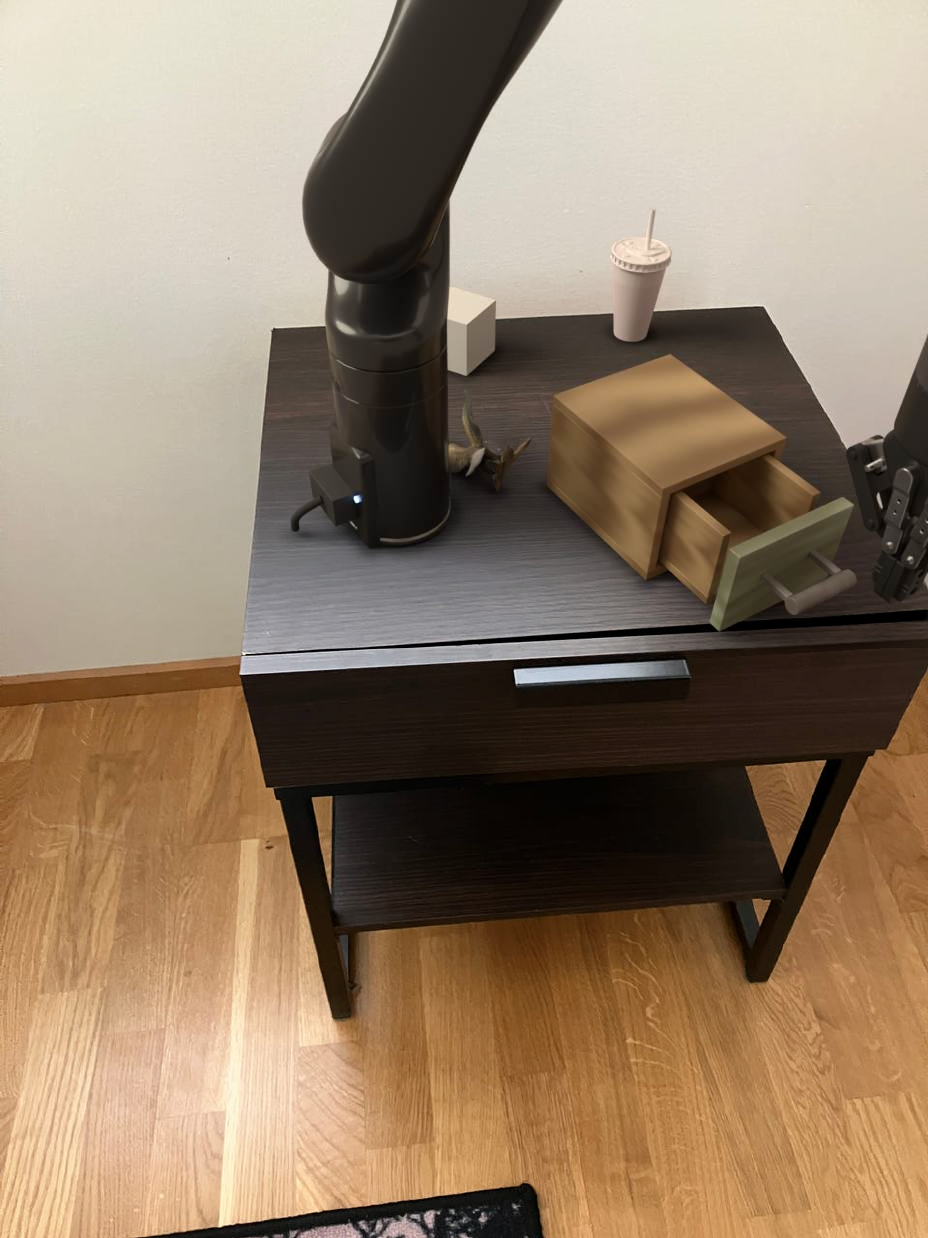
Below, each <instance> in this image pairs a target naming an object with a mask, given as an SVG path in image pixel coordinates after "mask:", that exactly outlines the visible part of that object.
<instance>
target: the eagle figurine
mask: <svg viewBox="0 0 928 1238" xmlns="http://www.w3.org/2000/svg"><path fill="white" fill-rule="evenodd" d="M462 394H463V397H462V400H463V407H462V416H461V417H462V418H461V420H462V425H463V428H464V431H465V433H466V435H467V437H468V439H469V442H470V445H469V446H468V447H465V446H462V445H460V444H457V443H456V442H452V443H449V466H450V474H451V473H454V474H456V473H458V472H460V471H461V470H462V469H465V468H466V467H469V469H468V471H467V472H466V475H465V477H468V476H469V475H471V474H473V472H474V471H475V469H476V468H477V469H478V470H480V472H482V473H484V474H486V475H487V476H489V477H491V478H492V480H493V485H494V488H495V491H496V492H499V491H500V488H501V483H502V482H503V479H504V477H505V475H506V474H507V472H508V471H509V469H510V467H511V466H512V465H513V464H514V462H515V461H516V460H517V459H518V458H519V457H520V456H521V455H522V453H523V452H524V451H525V450H526V449H527V448H528V447H529V445H530V443H531V441H532V439H533V437H531V436H529V437H528V438H527V439H526V440H525V441H524V442H523V443H521V444H520V446H519V447H518V448H516V450H515V449H514V448H513V446H512V445H511V444H510V442H508V443H507V444H506V447H505V449H504V451H503V455H500V454H497V453H495V452H493V451H491V450H490V448H489V447H488V446H487V445H486V444H485V443H484V437H483V433H482V430H481V428H480V427H479V424H478V423H477V422H476V421H475V420H474V418H473V414H474V413H473V410H472V407H473V406H472V397H471V395H470V393H469V392H468V390H467V389H464V391H463V393H462ZM487 462H489V463H493V464H494V466H495V470H496V471H494V470H493V468H492V467H491V466H489V465H488V463H487Z"/></svg>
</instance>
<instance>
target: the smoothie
mask: <svg viewBox="0 0 928 1238" xmlns="http://www.w3.org/2000/svg"><path fill="white" fill-rule="evenodd" d="M656 211H657V209H656V208H655V207H651V208H649V215H648V216H649V217H648V222H647V230H646V236H631V237H626V238H622V239H620V240H617V241H616V242H615V243H614V244H613V245H612V246H611V253H610V255H609V257H610V258H609V259H610V261H611V262H612V285H613V287H612V289H613V292H612V295H613V298H612V299H613V300H612V301H613V302H612V303H613V305H612V307H613V308H612V309H613V335H614V336H615V337H616V339H618V340H621V341H623V342H628V343H629V342H630V343H635V342H640V341H644V339H646V338H647V335H648V332H649V328H650V325H651V322H652V318H653V315H654V311H655V309H656V304H657V301H658V298H659V294H660V292H661V291H660V290H661V287H662V285H663V280H664V277H665V273H666V270H667V268H668V267H669V266H670V264H671V262H672V255H673V252H672V249H671V247H670V246H669V245H668V244H666V243H665V242H663V241H661V240H659V239H656V238H653V231H654V226H655V225H654V224H655V217H656Z"/></svg>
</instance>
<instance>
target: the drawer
mask: <svg viewBox="0 0 928 1238" xmlns="http://www.w3.org/2000/svg"><path fill="white" fill-rule="evenodd" d="M821 494H822V492H821V491H819V489H817V488H816V487H814V486H813V485H811V484H810V483H809V482H808V481H806V480H805V479H803V478H802V477H800V476H799V475H798V474H797V473H795V472H794V471H793V470H792V469H790V468H789V467H787V466H786V465H785V464H783V463H782V462H781V461H780V462H779V461H778V460H776V459H775V458H774V457H772V456H771V455H770V454H768V453H767V454H764V455H762V456H760V457H757V458H755V459H752V460H750V461H748V462H745V463H743V464H741V465H738V466H736V467H733V468H731V469H729V470H726V471H724V472H721V473H719V474H717V475H714V476H712V477H710V478H707V479H705V480H702V481H700V482H698V483H695V484H693V485H690V486H688V487H686V488H683V489H681V490H678V491H676V492H674V493H671V494H670V499H669V504H668V509H667V514H666V519H665V524H664V529H663V534H662V539H661V544H660V549H659V554H658V559H657V560H659V561H660V562H661V563H662V564H663V565H664V566H665V567H666V568H667V569H668V571H669V572H670V573H671V574H672V575H674V576H675V578H677V579H678V580H679V581H680V582H681V583H682V584H683V585H684V586H685V587H686V588H687V589H689V590H690V591H691V593H693V594H694V595H695V596H696V597H697V598H698V599H700V601H702V602H703V603H704V605H707V604H710V603H712V602H714V604H713V608H712V611H711V615H710V618H709V623H710V625H711V626H713V628H715V629H716V630H717V631H718V632H721V631H723V630H726V629H727V628H729V627H731V626H733V625H736V624H737V623H738V624H739V622H741V621H743V620H746V619H748V618H750V617H751V616H754V615H756V614H758V613H760V612H761V611H764V610H766V609H769V608H770V607H772V606H774V605H776V604H778V603H780V602H782V601H784V607H785V609H786V611H787V612H788V613H789V614H790V615H792V616H797V615H799V614H801V613H803V612H806V611H808V610H809V609H811V608H813V607H815V606H817V605H819V604H821V603H823V602H826V601H827V600H830V599H831V598H834V597H835V596H837V595H839V594H841V593H843V592H845V591H847V590H849V589H851V588H853V587H855V586H856V585H857V582H858V578H857V576H856V574H855V573H854V572H853V571H852V570H851V569H843V570H842V569H840V568H839V567H838V566H837V565H835V564H834V563H833V562H834V559H835V557H836V554H837V552H838V549H839V546H840V543H841V541H842V539H843V536H844V533H845V530H846V528H847V525H848V523H849V521H850V517H851V514H852V512H853V509H854V507H855V504H854V503H853V502H851V501H849V500H848V499H846V497H844V496H841V497H839V498H837V499H835V500H832V501H830V502H828V503H826V504H824V505H822V506H819V507H817V504H818V503H819V499H820V496H821ZM828 575H829V577H828Z"/></svg>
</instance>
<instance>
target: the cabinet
mask: <svg viewBox="0 0 928 1238" xmlns="http://www.w3.org/2000/svg"><path fill="white" fill-rule="evenodd" d="M549 435H550V436H549V447H548V448H549V449H548V462H547V473H546V487H547V488H549V489H550V490H551V491H552V493H554V494H555V495H556V496H557V497H558V498H559V499H560V500H561V501H562V502H563V503H564V504H565V505H567V507H568V508H569V509H570V510H571V511H573V513H575V515H577V516H578V517H579V518H580V519H581V520H582V521H583V522H584V523H585V524H586V525H587V526H588V527H589V528H591V530H593V531H594V533H595V534H596V535H598V536H599V537H600V538H601V539H602V540H603V541H604V542H605V543H606V544H607V545H608V546H609V547H610V548H611V549H612V550H613V551H615V553H617V555H619V556H620V557H621V558H622V559H623V560H624V561H625V562H626V563H627V564H628V565H629V566H630V567H631V568H632V569H633V570H634V571H635V572H637V574H639V575H640V577H642V579H644V580H645V581H648V580H651V579H652V578H654V577H657V576H659V575H661V574H664V573H666V572H667V571H669V570H668V569H667V568H666V567H665V566H664V565H663V564H662V563H661V562H660V561H659V560H657V559H658V554H659V549H660V544H661V539H662V534H663V529H664V524H665V519H666V514H667V509H668V504H669V499H670V494H671V493H674V492H676V491H678V490H681V489H683V488H686V487H688V486H690V485H693V484H695V483H698V482H700V481H702V480H705V479H707V478H710V477H712V476H714V475H717V474H719V473H721V472H724V471H726V470H729V469H731V468H733V467H736V466H738V465H741V464H743V463H745V462H748V461H750V460H752V459H755V458H757V457H760V456H762V455H764V454H767V453H768V454H770V455H771V456H772V457H774V458H775V459H776V460H778V461H779V462H780V463H781V459H782V456H783V455H782V454H783V452H784V448H785V444H786V441H787V437H786V436H785V435H784V434H782V433H781V432H779V431H778V430H777V429H775V428H774V427H773V426H771V425H770V424H769V423H767V422H766V421H765V420H763V419H762V418H760V417H758V416H757V415H756V414H754V413H753V412H752V411H751V410H749V409H748V408H746V407H745V406H743V405H742V404H741V403H739V402H738V401H736V400H735V399H733V398H732V397H731V396H729V395H728V394H727V393H725V392H724V391H722V390H721V389H719V388H718V387H717V386H715V384H712V382H710V381H709V380H707V379H706V378H705V377H703V376H702V375H700V374H699V373H697V372H696V371H694V370H693V369H692V368H690V367H689V366H688V365H686V364H685V363H683V362H682V361H681V360H679V359H678V358H676V357H675V356H673V355H672V354H671V353H669V354H667V355H664V356H661V357H657V358H655V359H653V360H649V361H646V362H643V363H640V364H638V365H635V366H632V367H629V368H627V369H624V370H621V371H618V372H616V373H612V374H610V375H607V376H604V377H601V378H598V379H596V380H593V381H590V382H587V383H585V384H581V385H579V386H575V387H572V388H570V389H567V390H564V391H562V392H559V393H556V394H554V395H553V398H552V410H551V422H550V434H549Z"/></svg>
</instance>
